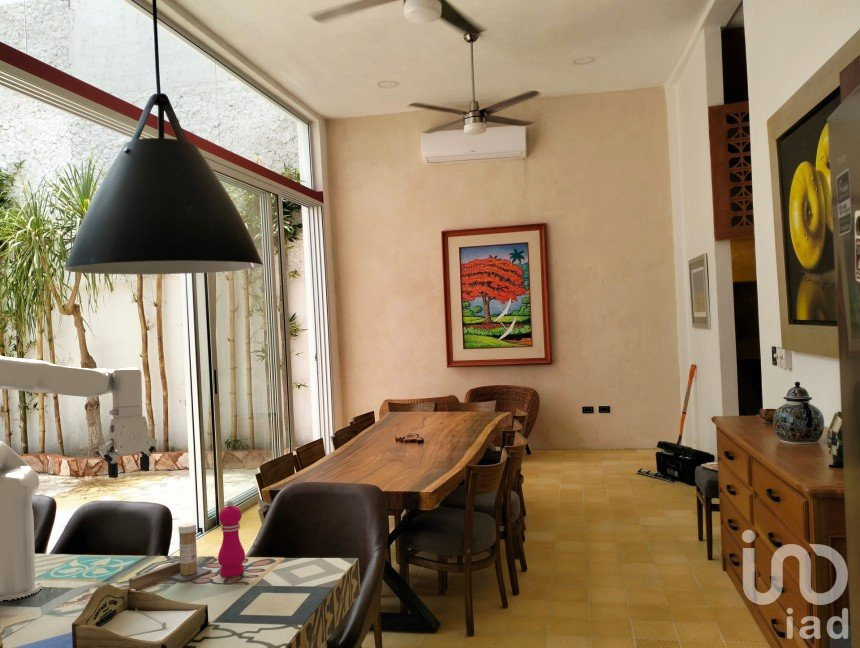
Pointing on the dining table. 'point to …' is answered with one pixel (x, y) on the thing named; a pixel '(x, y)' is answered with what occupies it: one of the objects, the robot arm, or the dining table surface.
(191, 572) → the sprinkles bottle
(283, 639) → the dining table surface
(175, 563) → the guide rail
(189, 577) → the end pad
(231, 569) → the pepper mill
